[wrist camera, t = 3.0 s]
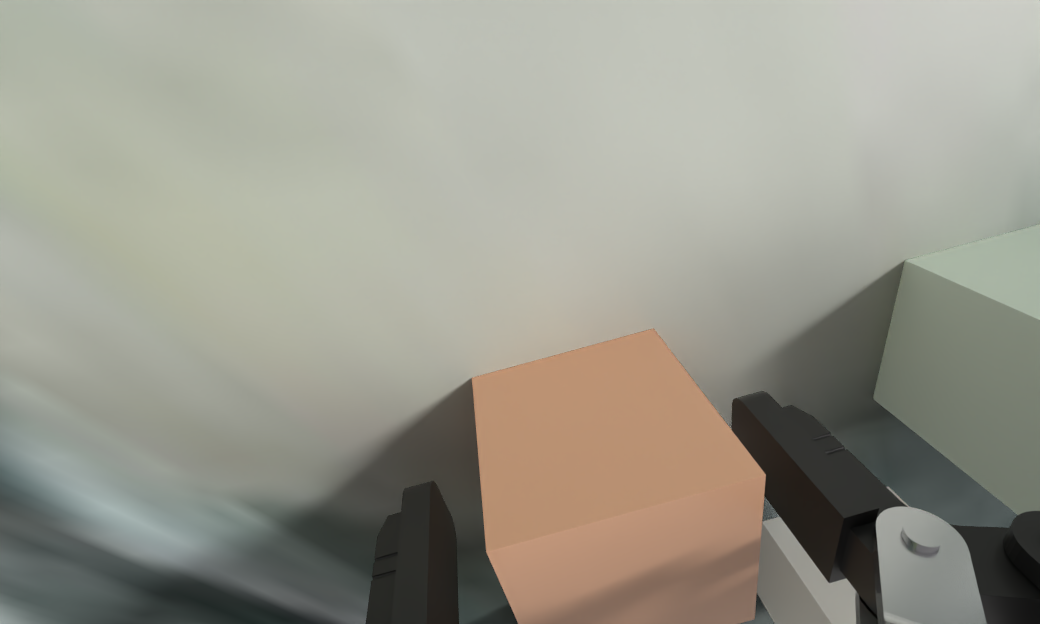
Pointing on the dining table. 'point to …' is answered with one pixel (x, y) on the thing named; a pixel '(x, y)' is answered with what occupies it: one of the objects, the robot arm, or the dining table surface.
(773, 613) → the cream block
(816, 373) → the dining table surface
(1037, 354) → the sage block
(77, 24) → the dining table surface
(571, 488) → the terracotta block
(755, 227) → the dining table surface
